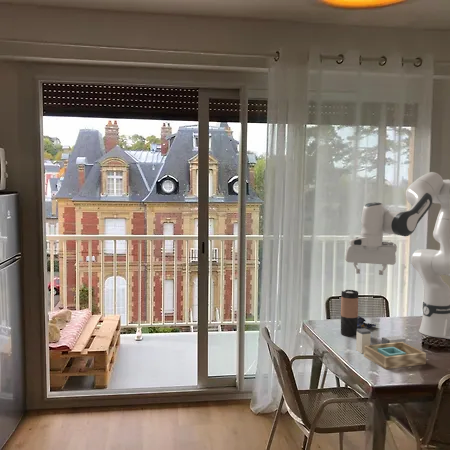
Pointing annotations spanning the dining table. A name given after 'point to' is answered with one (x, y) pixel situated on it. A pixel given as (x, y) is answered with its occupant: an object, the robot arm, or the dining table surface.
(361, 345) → the ivory connector
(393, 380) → the dining table surface
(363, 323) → the snack package
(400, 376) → the dining table surface
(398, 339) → the grey plug
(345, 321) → the travel mug
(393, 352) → the teal socket
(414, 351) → the birch crate
